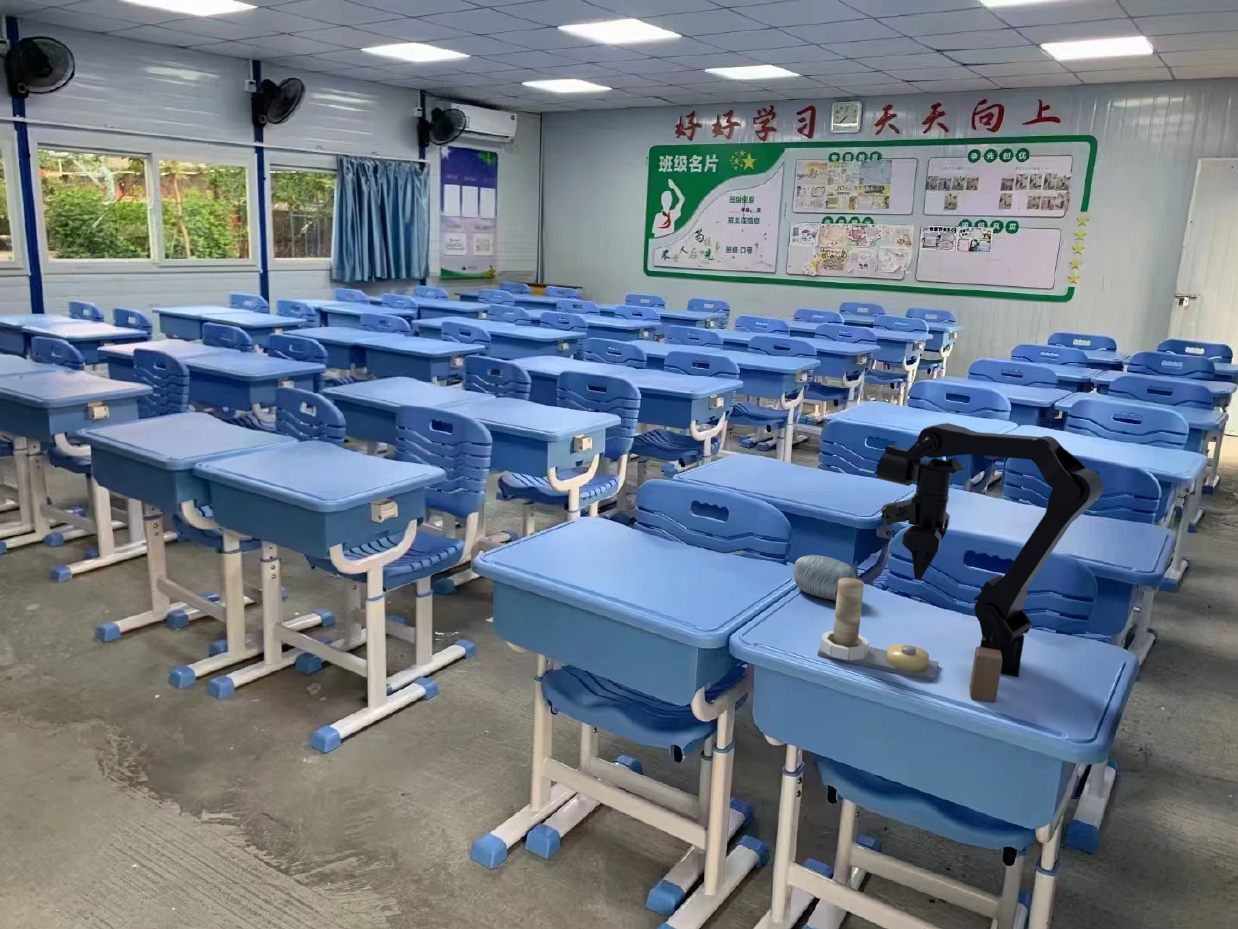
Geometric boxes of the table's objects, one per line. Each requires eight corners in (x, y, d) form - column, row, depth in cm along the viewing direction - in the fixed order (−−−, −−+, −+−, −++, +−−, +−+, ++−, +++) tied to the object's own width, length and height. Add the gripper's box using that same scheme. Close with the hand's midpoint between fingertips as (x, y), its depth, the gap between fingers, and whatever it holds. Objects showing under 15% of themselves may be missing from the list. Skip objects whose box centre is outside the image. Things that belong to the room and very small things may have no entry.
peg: (855, 646, 173) (862, 579, 170) (857, 656, 168) (864, 587, 165) (831, 643, 173) (837, 576, 170) (832, 653, 169) (839, 585, 166)
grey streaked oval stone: (871, 584, 198) (854, 546, 194) (850, 614, 193) (833, 576, 189) (817, 580, 208) (800, 544, 205) (796, 608, 203) (778, 572, 199)
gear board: (938, 666, 168) (940, 647, 167) (932, 684, 161) (935, 664, 160) (826, 641, 176) (828, 623, 175) (816, 657, 169) (818, 638, 168)
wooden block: (969, 689, 160) (975, 645, 158) (994, 693, 159) (1001, 649, 157) (969, 699, 156) (976, 654, 154) (995, 704, 155) (1003, 659, 153)
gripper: (895, 474, 186) (885, 550, 189) (878, 495, 169) (868, 578, 173) (954, 483, 181) (943, 560, 185) (943, 506, 165) (932, 590, 168)
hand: (921, 571), depth 178 cm, fingers open, 9 cm apart
